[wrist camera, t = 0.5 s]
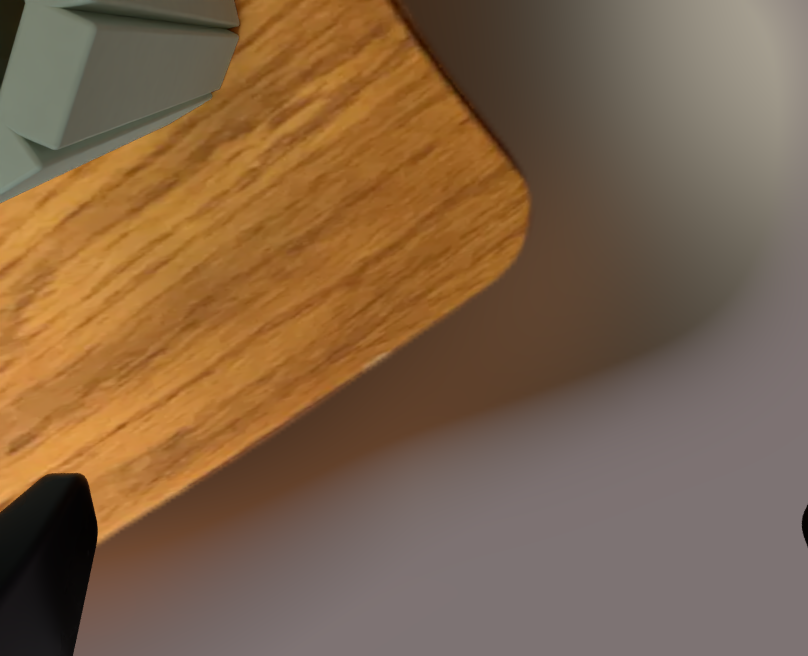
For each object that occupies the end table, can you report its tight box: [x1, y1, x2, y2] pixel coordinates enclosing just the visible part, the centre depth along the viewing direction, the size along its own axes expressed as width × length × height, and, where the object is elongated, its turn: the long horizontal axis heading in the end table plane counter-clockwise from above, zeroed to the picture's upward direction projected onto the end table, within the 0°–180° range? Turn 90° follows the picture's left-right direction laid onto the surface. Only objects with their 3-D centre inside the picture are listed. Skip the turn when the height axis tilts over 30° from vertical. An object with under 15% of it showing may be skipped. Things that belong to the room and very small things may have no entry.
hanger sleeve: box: [0, 0, 240, 203], centre depth 14 cm, size 6×6×13 cm
